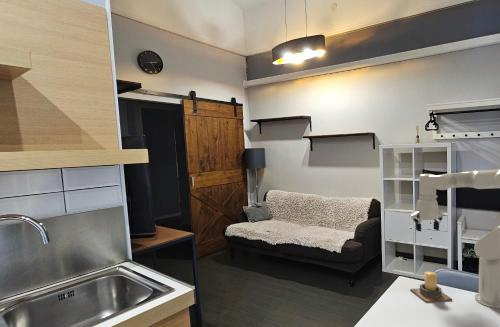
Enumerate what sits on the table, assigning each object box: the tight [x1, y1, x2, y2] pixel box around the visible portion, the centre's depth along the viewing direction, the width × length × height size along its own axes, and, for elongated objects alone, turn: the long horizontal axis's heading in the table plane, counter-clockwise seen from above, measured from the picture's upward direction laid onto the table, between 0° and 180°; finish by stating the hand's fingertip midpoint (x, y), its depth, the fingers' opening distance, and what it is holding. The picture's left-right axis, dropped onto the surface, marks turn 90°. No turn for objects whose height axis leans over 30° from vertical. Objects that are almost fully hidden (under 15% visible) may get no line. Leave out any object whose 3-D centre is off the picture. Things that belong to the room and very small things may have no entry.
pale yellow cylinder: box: [424, 271, 438, 291], centre depth 150 cm, size 5×5×10 cm
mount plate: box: [410, 283, 453, 303], centre depth 150 cm, size 13×12×4 cm
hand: (427, 230), depth 162 cm, fingers open, 9 cm apart
